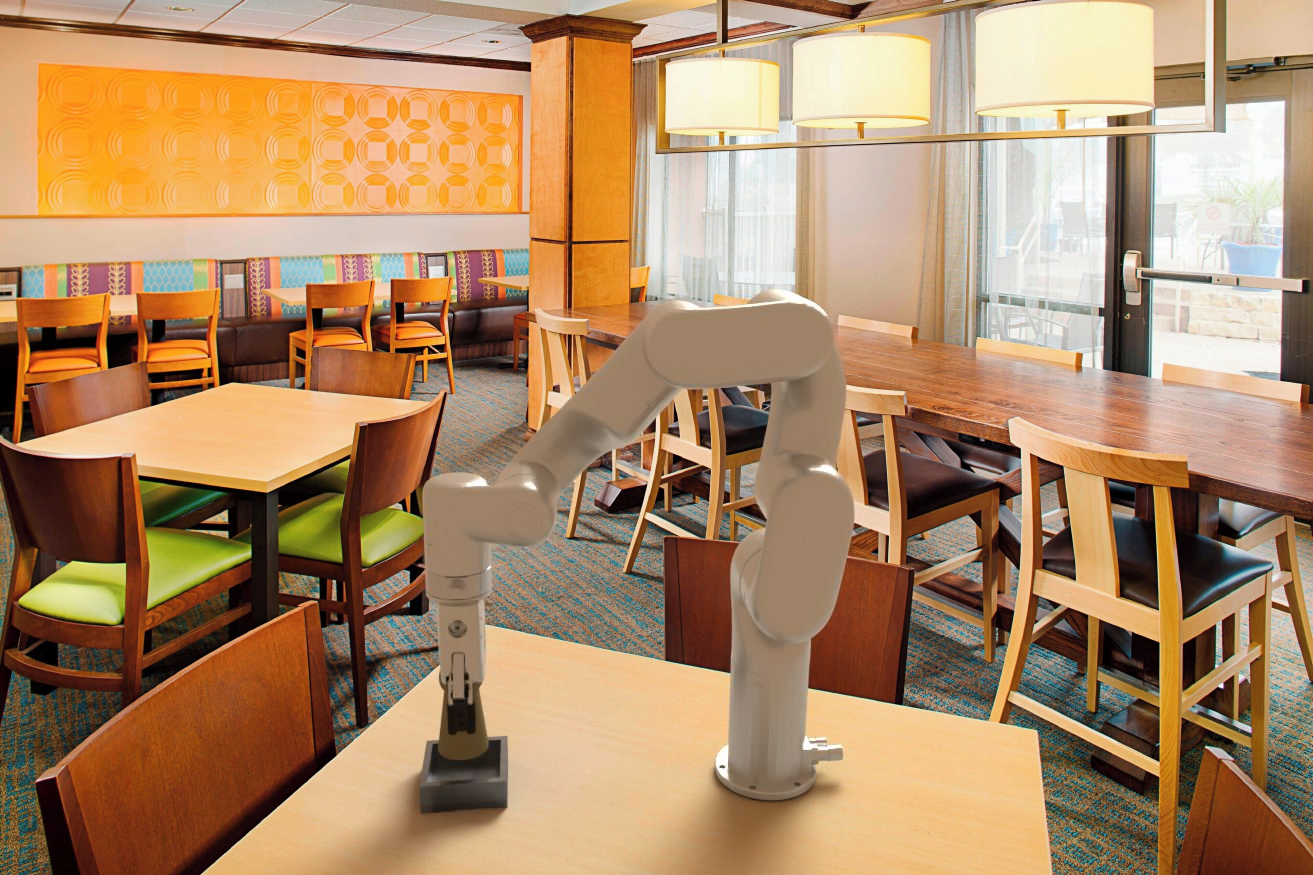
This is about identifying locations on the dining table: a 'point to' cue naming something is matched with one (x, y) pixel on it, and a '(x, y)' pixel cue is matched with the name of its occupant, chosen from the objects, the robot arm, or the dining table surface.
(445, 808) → the socket
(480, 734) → the cork
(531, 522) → the robot arm
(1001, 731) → the dining table surface
